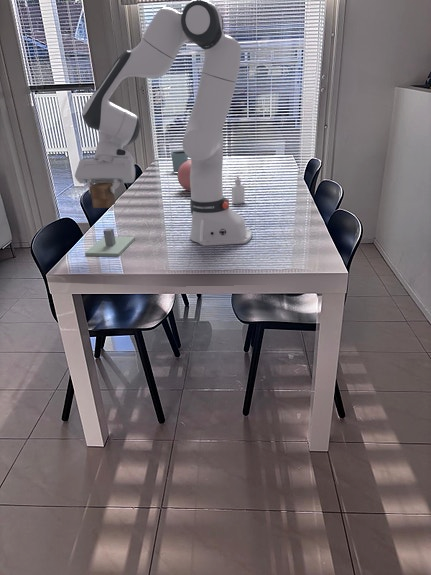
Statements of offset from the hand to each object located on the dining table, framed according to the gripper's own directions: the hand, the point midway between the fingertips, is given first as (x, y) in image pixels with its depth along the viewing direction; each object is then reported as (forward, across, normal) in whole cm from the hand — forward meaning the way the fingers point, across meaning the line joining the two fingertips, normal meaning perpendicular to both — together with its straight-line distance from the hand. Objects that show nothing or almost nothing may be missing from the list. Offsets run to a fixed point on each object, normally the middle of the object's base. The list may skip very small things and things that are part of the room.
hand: (101, 193), depth 142 cm
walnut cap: (+3, 0, +4) cm, 4 cm away
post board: (+13, 0, +14) cm, 19 cm away
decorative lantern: (-41, +13, +69) cm, 81 cm away
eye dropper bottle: (-27, +38, +54) cm, 72 cm away
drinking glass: (-76, -6, +103) cm, 128 cm away
